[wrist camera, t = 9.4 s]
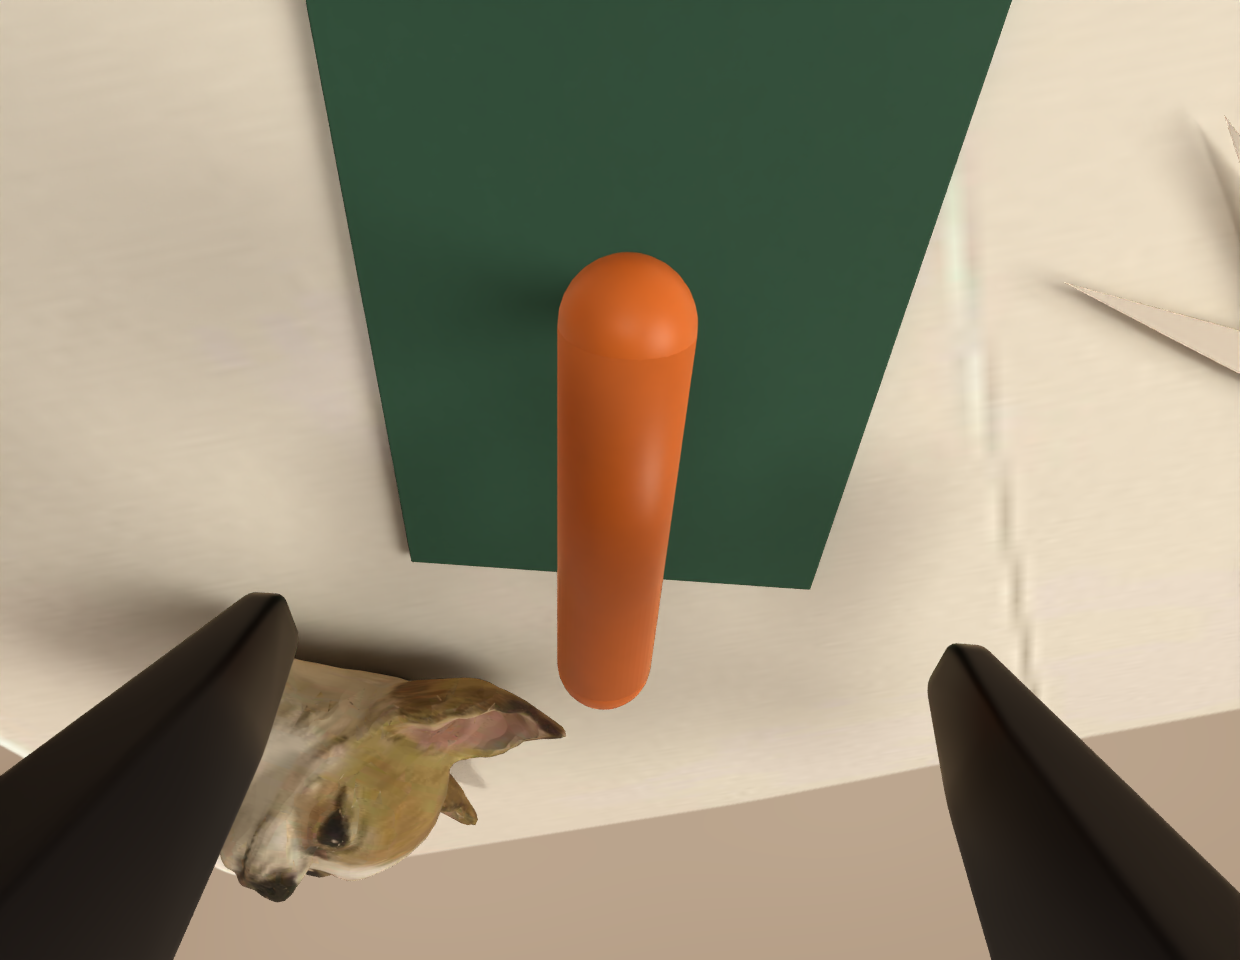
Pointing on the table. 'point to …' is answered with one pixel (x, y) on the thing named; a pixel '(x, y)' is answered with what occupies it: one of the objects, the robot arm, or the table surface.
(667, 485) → the t handle
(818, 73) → the cutting mat
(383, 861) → the ceramic sculpture
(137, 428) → the table surface
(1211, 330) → the scissors
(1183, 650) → the table surface
